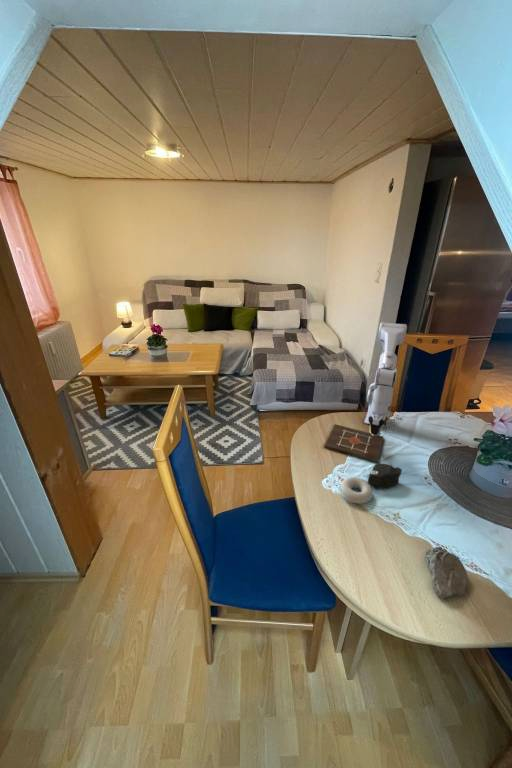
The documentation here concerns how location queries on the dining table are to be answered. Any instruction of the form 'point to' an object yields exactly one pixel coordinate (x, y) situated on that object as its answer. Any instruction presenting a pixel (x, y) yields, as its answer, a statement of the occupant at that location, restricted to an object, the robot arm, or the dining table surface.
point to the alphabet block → (373, 434)
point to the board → (354, 443)
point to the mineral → (384, 476)
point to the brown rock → (446, 572)
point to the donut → (356, 496)
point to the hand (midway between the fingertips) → (374, 430)
